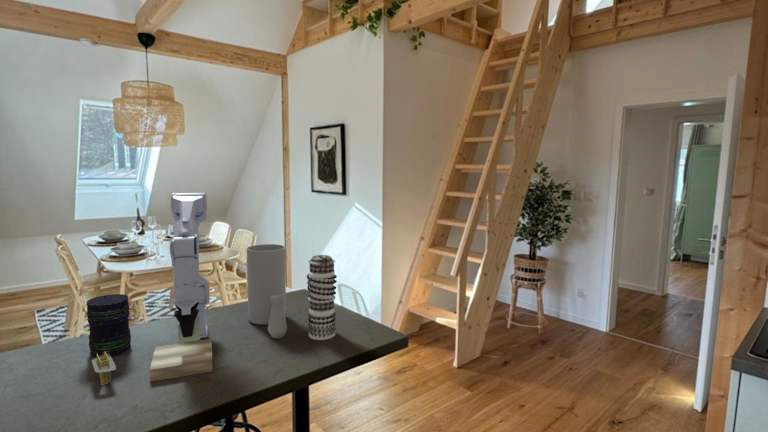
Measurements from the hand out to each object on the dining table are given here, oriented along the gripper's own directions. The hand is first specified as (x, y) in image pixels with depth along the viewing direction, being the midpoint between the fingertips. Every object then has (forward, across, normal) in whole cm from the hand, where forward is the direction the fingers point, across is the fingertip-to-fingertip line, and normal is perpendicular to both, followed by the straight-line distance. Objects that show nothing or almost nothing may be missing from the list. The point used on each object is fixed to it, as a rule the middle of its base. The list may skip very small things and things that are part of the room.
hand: (188, 332), depth 109 cm
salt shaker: (+9, +10, -25) cm, 28 cm away
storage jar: (+9, +16, +20) cm, 27 cm away
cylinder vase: (+9, +26, -24) cm, 36 cm away
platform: (+9, -2, +19) cm, 21 cm away
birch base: (+8, 0, +1) cm, 9 cm away
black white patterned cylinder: (+9, +6, -38) cm, 39 cm away
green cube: (+2, 0, 0) cm, 2 cm away
